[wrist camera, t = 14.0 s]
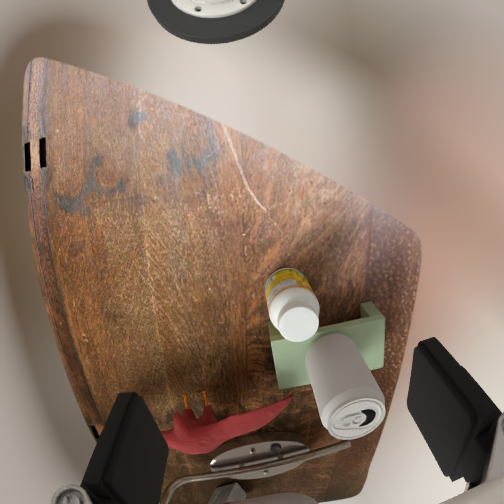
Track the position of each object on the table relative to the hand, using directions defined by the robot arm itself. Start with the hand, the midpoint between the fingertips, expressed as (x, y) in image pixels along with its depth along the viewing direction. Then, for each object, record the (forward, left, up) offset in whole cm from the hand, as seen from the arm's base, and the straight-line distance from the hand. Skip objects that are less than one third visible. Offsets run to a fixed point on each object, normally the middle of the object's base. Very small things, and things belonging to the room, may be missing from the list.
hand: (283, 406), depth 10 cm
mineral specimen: (+14, +51, -29) cm, 61 cm away
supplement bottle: (-3, +8, -29) cm, 31 cm away
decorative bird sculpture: (+12, +25, -29) cm, 41 cm away
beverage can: (-6, +16, -24) cm, 30 cm away
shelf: (-7, +16, -29) cm, 34 cm away
